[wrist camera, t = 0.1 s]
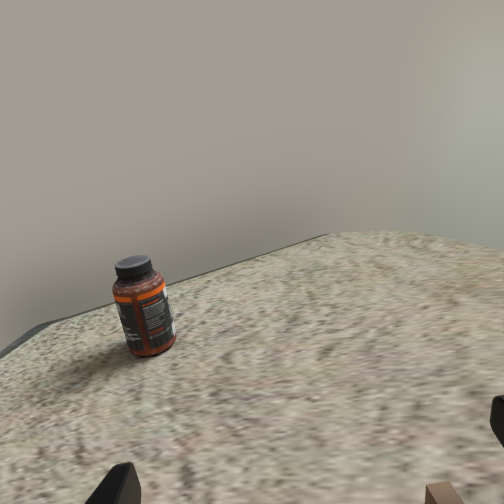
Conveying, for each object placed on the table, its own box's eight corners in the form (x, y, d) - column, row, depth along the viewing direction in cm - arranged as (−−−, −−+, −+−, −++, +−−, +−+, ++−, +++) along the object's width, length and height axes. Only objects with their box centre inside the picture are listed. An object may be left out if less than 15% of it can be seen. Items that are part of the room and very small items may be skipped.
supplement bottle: (186, 333, 46) (168, 251, 42) (160, 361, 40) (138, 271, 37) (148, 329, 48) (128, 251, 44) (119, 355, 43) (93, 270, 39)
